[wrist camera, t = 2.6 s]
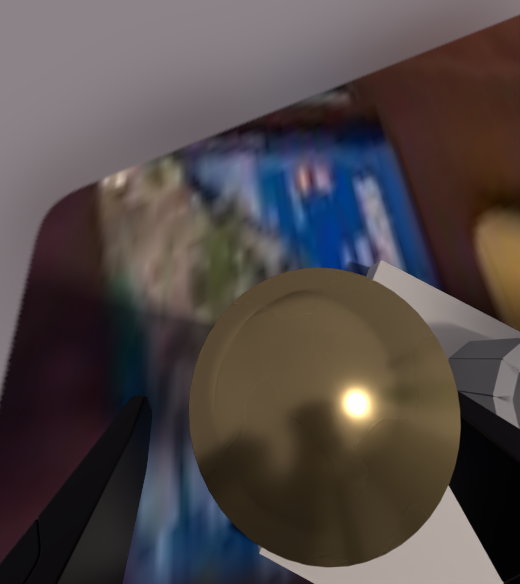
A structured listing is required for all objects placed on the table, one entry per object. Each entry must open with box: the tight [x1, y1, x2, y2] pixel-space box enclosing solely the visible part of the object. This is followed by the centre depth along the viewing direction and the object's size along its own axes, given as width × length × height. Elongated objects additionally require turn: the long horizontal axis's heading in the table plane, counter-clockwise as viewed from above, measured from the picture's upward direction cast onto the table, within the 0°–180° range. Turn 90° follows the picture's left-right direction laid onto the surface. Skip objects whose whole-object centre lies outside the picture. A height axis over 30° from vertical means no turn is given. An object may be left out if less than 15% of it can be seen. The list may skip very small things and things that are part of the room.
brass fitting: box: [189, 268, 461, 568], centre depth 11 cm, size 5×5×13 cm
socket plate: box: [258, 260, 520, 584], centre depth 15 cm, size 18×22×5 cm
